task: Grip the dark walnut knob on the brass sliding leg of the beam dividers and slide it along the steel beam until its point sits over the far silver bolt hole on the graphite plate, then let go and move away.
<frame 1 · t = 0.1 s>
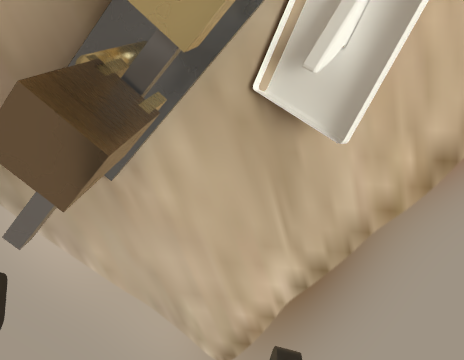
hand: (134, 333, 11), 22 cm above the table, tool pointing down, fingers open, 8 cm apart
sliding leg: (121, 90, 21), point 11 cm above the table, slide at 6.0 cm
bolt plate: (147, 56, 31), on the table
light switch: (340, 11, 28), on the table
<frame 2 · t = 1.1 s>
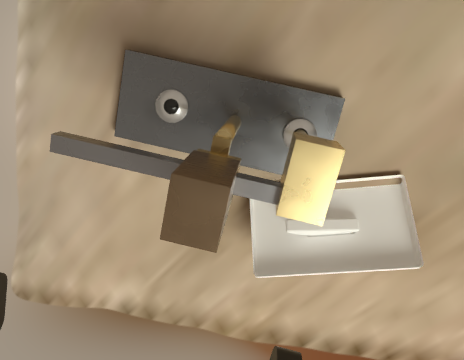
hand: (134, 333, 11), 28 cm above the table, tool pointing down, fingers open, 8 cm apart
sliding leg: (218, 163, 28), point 11 cm above the table, slide at 6.0 cm
bolt plate: (226, 116, 37), on the table
light switch: (325, 213, 40), on the table
dividers frame: (299, 133, 37), resting on bolt plate
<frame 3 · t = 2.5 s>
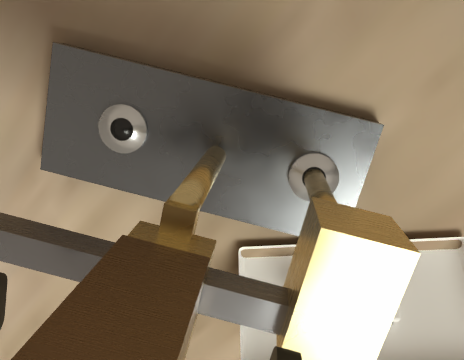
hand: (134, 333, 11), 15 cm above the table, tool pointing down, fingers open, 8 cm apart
sliding leg: (177, 244, 16), point 11 cm above the table, slide at 6.0 cm
bolt plate: (205, 144, 25), on the table
light switch: (347, 284, 28), on the table
dividers frame: (311, 171, 25), resting on bolt plate
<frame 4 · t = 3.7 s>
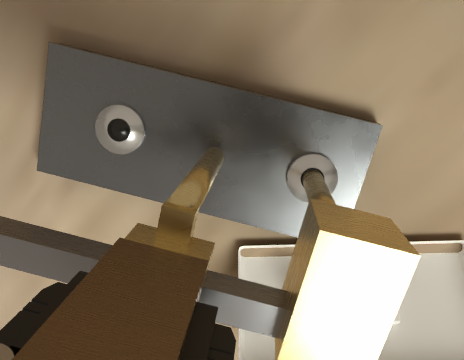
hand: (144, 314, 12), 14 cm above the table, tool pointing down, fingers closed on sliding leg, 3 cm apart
sliding leg: (175, 247, 16), point 11 cm above the table, slide at 6.0 cm, touching gripper
bolt plate: (203, 145, 25), on the table
light switch: (346, 285, 27), on the table
dividers frame: (309, 172, 25), resting on bolt plate
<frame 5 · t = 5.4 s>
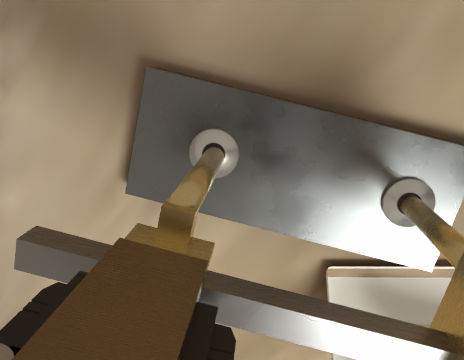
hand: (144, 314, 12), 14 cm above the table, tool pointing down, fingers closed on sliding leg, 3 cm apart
sliding leg: (174, 247, 16), point 11 cm above the table, slide at 11.9 cm, touching gripper
bolt plate: (293, 168, 25), on the table
light switch: (431, 307, 27), on the table
dividers frame: (401, 195, 25), resting on bolt plate
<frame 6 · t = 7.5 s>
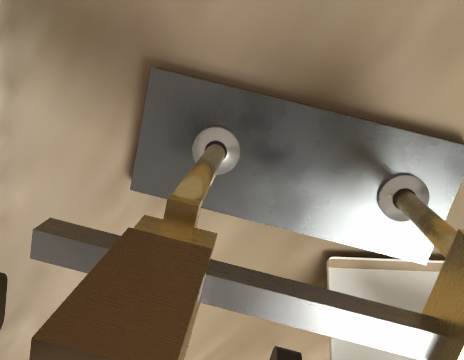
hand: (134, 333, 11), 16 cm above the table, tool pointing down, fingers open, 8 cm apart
sliding leg: (179, 238, 16), point 11 cm above the table, slide at 12.0 cm
bolt plate: (292, 165, 26), on the table
light switch: (426, 300, 28), on the table, touching bolt plate
dividers frame: (396, 191, 26), resting on bolt plate
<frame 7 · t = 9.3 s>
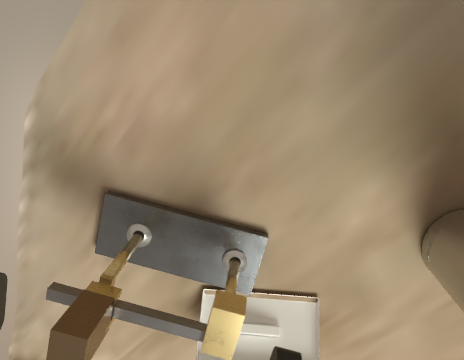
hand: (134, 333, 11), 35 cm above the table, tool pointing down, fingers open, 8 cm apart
sliding leg: (107, 289, 39), point 11 cm above the table, slide at 12.0 cm
bolt plate: (181, 241, 49), on the table
light switch: (259, 313, 51), on the table
dividers frame: (235, 256, 49), resting on bolt plate
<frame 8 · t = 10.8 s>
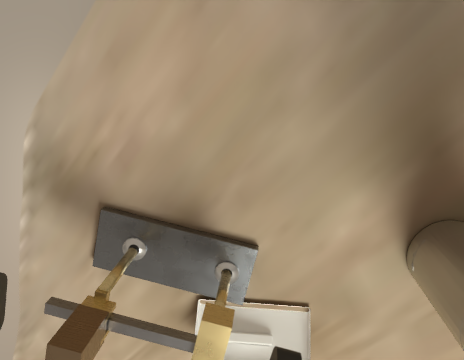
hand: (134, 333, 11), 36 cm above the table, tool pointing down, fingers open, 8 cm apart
sliding leg: (103, 303, 41), point 11 cm above the table, slide at 12.0 cm
bolt plate: (175, 254, 51), on the table
light switch: (252, 322, 53), on the table
dividers frame: (227, 267, 51), resting on bolt plate
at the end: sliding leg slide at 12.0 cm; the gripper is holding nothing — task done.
